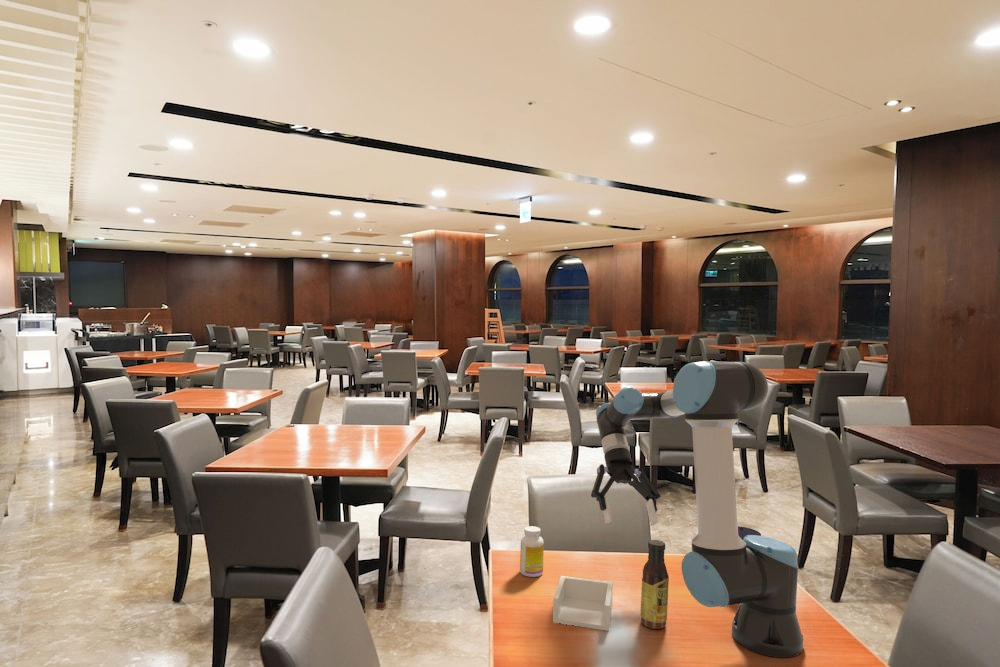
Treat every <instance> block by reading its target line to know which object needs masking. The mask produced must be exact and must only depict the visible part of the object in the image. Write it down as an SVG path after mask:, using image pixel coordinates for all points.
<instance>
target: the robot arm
mask: <svg viewBox="0 0 1000 667" xmlns="http://www.w3.org/2000/svg"><path fill="white" fill-rule="evenodd" d="M672 386H673V387H672V389H670V390H665V391H662V392H655V393H654V392H652V393H651V392H650V393H645V392H644V393H642V392H641V391H640V390H638V389H637V388H633V387H632V386H626V387H623V388H621V389H620V390H619V391H618V392H617V393H616V394H615V396H614V397H613V399H612V400H611V401H610V402H605V403H602V404H601V405H599V406H598V407H597V408H596V411H595V417H596V423H597V426H598V427H597V428H598V433H599V437H600V441H601V446H602V451H603V456H604V457H603V458H604V462H605V465H604V464H602V463H601V464H600V465H599V466H598V467H597V469H596V474H597V475H596V478H595V481H594V484H593V488H592V491H591V494H590V497H591V498H593V499H594V498H595V500H596V501H597V502H598V505H599V510H601V511H602V512H603V517H604V522H605V524H606V525H608V524H610V523H611V521H613V517H612V511H611V505H610V501H609V497H608V496H606V494H608V492H609V490H610V488H611V486H613V484H614V482H615V483H616V484H624V485H625V484H628V485H629V486H630V487H633V488H634V490H636V491H637V493H638V494H639V495H640V496H642V498H643V499H644V500H646V502H645V505H646V510H647V514H648V519H649V522H650V526H655V525H656V524H657V523H658V517H657V513H656V512H657V511H658V508H657V507H658V506H657V503H656V501H658V500H659V499H660V498H661V494H660V492H659V491H658V489H656V487H655V486H654V484H653V483H652V482H651V480H650V479H649V477H648V476H647V474H646V472H645V470H644V467H642V466H640V467H639V468H634V466H633V461H632V457H631V456H632V455H631V453H630V446H629V443H628V438H627V434H626V430H625V427H626V426H627V425H628V424H629V423H630V421H631V420H643V419H645V420H646V419H647V420H648V419H649V420H650V419H673V418H677V417H681V416H682V415H684V420H685V422H686V423H687V424H688V425H690V426H691V431H692V444H693V445H692V447H693V465H694V466H693V467H694V481H695V482H694V485H695V499H696V500H695V501H696V502H695V503H696V504H695V505H696V519H697V523H696V524H697V534H696V535H695V536H694V537H693V538H692V539H691V551H689V552H687V553H686V554H685V555H684V557H683V558H682V561H681V573H682V578H683V581H684V584H685V586H686V588H687V590H688V591H689V593H690V595H691V596H692V597H693V599H695V601H696V602H698V604H700V605H702V606H704V607H706V608H718V607H719V608H726V607H727V606H733V605H739V606H738V608H737V610H736V613H735V615H734V617H733V619H732V623H731V635H732V637H733V639H734V640H735V641H736V642H737V643H738V644H739V645H741V646H742V647H744V648H746V649H748V650H750V651H751V652H753V653H757V654H760V655H764V656H767V655H768V656H767V657H772V656H773V657H774V658H793V657H796V656H798V655H797V654H799V653H800V654H802V652H803V650H804V636H803V634H802V630H801V626H800V622H799V619H798V616H797V594H798V592H797V591H798V588H797V587H798V576H799V574H798V572H799V571H798V569H799V564H798V554H797V550H796V549H795V548H794V547H793V546H791V545H790V544H788V543H785V542H783V541H782V540H777V539H776V538H775V539H774V538H773V537H772V538H771V537H767V536H764V535H761V536H758V535H747V536H745V537H744V539H743V540H742V539H741V538H740V537H739V535H738V526H739V525H738V524H739V523H738V508H737V496H736V480H735V479H736V478H735V477H736V476H735V474H736V473H735V462H734V461H735V460H734V445H733V444H734V442H733V429H732V428H733V426H735V424H736V423H738V421H739V412H742V411H743V412H744V411H750V410H754V409H755V408H757V407H759V406H760V405H761V404H762V403H763V402H764V401H765V399H766V398H767V395H768V392H769V384H768V380H767V377H766V375H765V373H763V371H762V370H761V369H760V368H758V367H757V366H756V365H754V364H752V363H748V362H744V361H705V360H703V361H696V362H695V361H694V362H689V363H687V364H684V366H682V367H681V368H680V370H679V371H678V373H676V376H675V378H674V381H673V385H672ZM606 473H607V474H608V476H609V479H608V480H607V482H606V484H605V485H604V486H603V488H602V489H601V491H600V488H601V486H602V485H601V484H602V483H603V479H604V476H605V474H606ZM801 651H802V652H801ZM800 654H799V655H800ZM795 655H796V656H795ZM792 656H793V657H792Z"/></svg>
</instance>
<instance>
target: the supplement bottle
mask: <svg viewBox="0 0 1000 667" xmlns="http://www.w3.org/2000/svg"><path fill="white" fill-rule="evenodd" d="M523 531H524V532H523V533H524V535H523V536H522V537H521V538H520V558H519V559H520V562H519V563H520V564H519V569H520V570H519V571H520V574H521V575H522V576H525V577H527V578H529V577H530V578H536V577H540V576H542V575H543V573H544V543H545V542H544V539H543V537H542V536H541V533H542V532H541V528H540V527H539V526H535V525H534V526H532V525H530V526H529V525H528V526H526V527H524V530H523Z"/></svg>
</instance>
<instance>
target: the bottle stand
mask: <svg viewBox="0 0 1000 667" xmlns="http://www.w3.org/2000/svg"><path fill="white" fill-rule="evenodd" d="M613 586H614V582H613V581H605V580H598V579H591V578H583V577H575V576H567V575H560V578H559V581H558V583H557V587H556V590H555V592H554V596H553V600H552V606H553V607H552V608H553V609H552V623H553V624H559V623H561V624H560V625H566V624H567V626H572V625H574V627H579V626H580V627H581V628H586V629H593V630H601V631H608V632H609V631H610V626H611V619H612V609H613V593H614V592H613V590H614V587H613Z"/></svg>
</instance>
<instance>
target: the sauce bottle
mask: <svg viewBox="0 0 1000 667" xmlns="http://www.w3.org/2000/svg"><path fill="white" fill-rule="evenodd" d="M647 543H648V544H647V548H648V555H647V556H648V557H647V558H648V559H647V562H645V564H644V566H643V568H642V578H641V592H640V593H641V594H640V595H641V596H640V622H641V624H642V625H643V627H646V628H648V629H652V630H661V629H664V628H665V627H666V626H667V621H668V605H669V604H668V602H669V601H668V600H669V579H670V577H669V574H668V570H667V566H666V563H665V550H666V542H664V541H663V540H661V539H660V540H659V539H650V540H648V542H647Z"/></svg>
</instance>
